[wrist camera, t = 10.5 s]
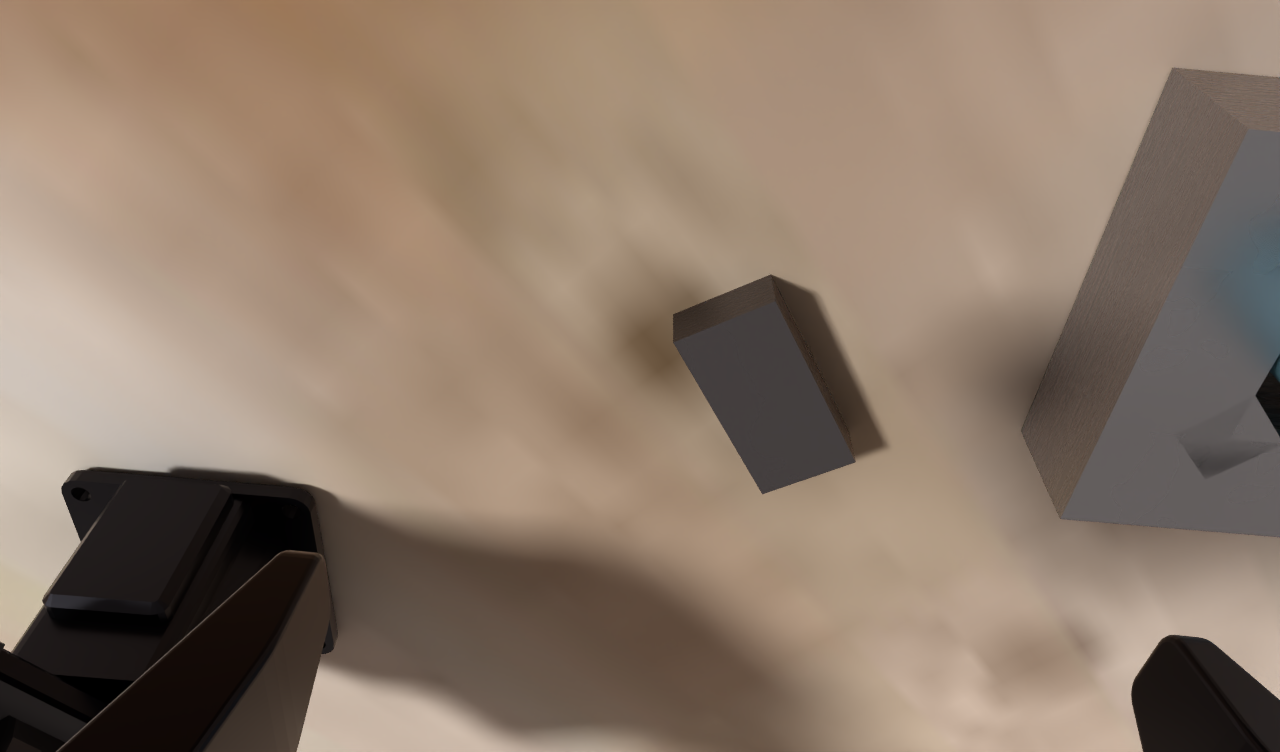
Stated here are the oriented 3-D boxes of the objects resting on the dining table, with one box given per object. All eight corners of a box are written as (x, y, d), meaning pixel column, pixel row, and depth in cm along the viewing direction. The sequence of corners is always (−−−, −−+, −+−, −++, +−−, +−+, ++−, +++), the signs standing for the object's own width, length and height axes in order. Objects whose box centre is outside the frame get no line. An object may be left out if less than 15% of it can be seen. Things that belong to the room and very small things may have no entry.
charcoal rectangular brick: (846, 422, 24) (855, 461, 23) (757, 454, 25) (762, 494, 23) (769, 265, 21) (775, 300, 20) (673, 306, 22) (673, 342, 21)
